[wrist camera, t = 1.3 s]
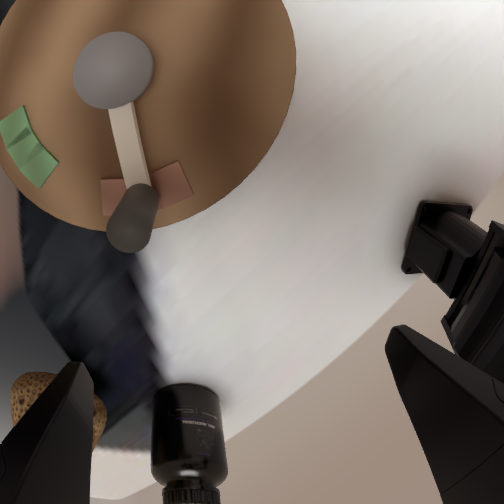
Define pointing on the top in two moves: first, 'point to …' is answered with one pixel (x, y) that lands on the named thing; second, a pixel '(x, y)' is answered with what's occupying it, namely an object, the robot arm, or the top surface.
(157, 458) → the supplement bottle
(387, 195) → the top surface
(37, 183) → the round wooden board
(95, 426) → the natural sponge
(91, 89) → the multicoloured piece
